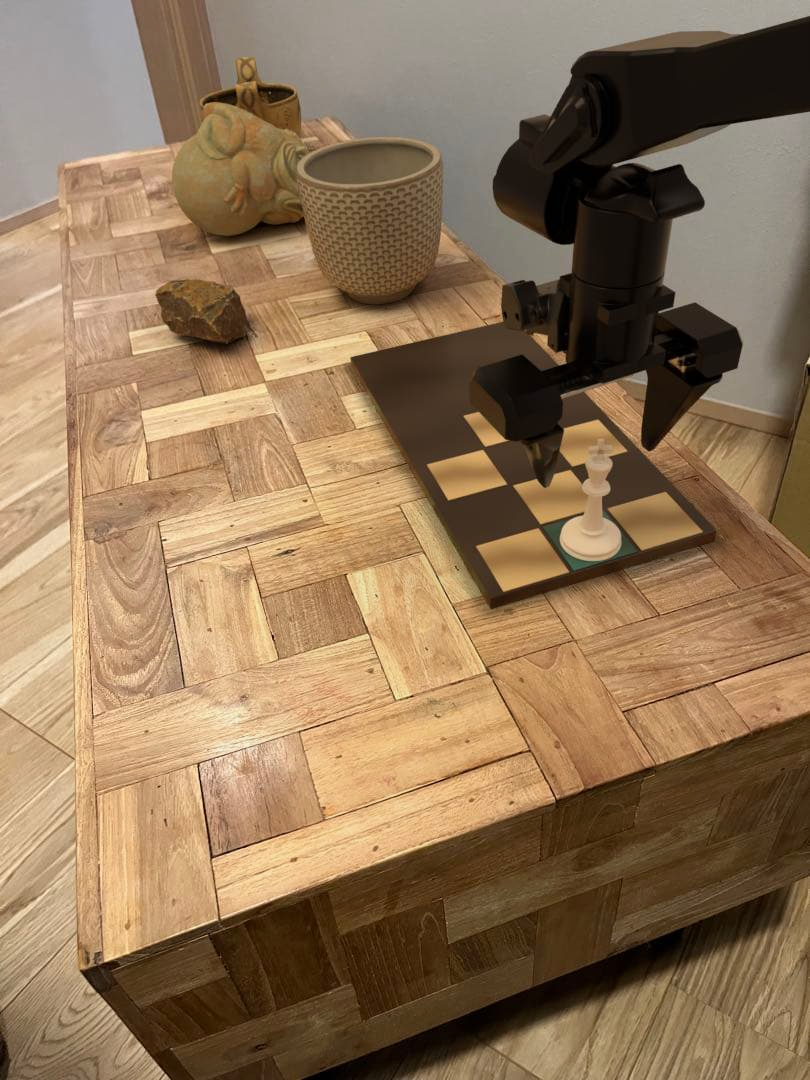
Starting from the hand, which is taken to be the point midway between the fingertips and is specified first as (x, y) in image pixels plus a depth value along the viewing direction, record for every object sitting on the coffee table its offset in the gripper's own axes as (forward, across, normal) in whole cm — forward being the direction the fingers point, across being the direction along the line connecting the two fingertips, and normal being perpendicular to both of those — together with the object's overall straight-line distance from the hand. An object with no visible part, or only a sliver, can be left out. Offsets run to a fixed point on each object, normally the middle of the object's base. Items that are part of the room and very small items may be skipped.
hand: (596, 465), depth 62 cm
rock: (+9, +19, -53) cm, 57 cm away
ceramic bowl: (+9, -5, -112) cm, 112 cm away
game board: (+9, -2, -17) cm, 19 cm away
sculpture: (+9, +4, -84) cm, 84 cm away
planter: (+9, -4, -54) cm, 54 cm away
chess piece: (+8, 0, 0) cm, 8 cm away
